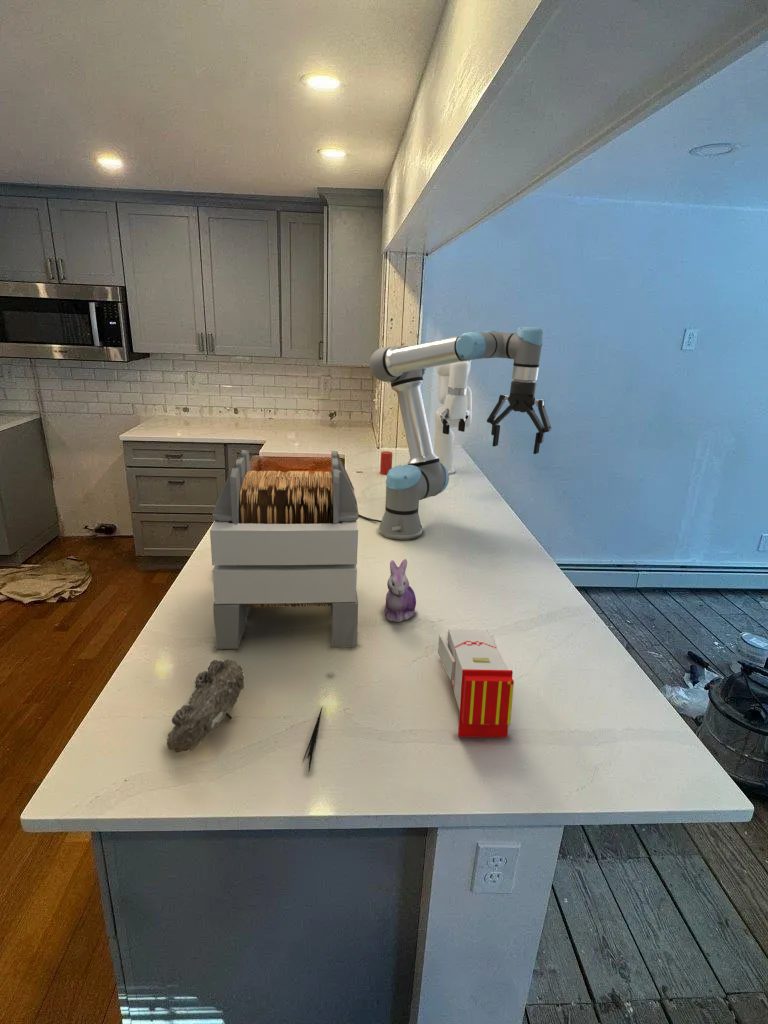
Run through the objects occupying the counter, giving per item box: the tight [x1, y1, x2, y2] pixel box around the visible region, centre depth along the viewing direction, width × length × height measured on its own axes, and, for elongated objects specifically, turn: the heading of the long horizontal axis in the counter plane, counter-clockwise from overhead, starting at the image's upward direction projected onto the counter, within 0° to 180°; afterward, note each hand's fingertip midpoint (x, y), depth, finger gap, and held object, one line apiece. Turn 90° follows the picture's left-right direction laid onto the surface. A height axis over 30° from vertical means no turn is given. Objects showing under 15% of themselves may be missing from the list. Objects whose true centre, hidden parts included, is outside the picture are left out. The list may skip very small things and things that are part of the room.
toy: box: [437, 628, 515, 738], centre depth 117 cm, size 12×13×30 cm
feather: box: [301, 673, 332, 771], centre depth 108 cm, size 2×28×2 cm
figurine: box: [384, 558, 417, 623], centre depth 145 cm, size 9×10×15 cm
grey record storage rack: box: [209, 449, 360, 651], centre depth 139 cm, size 34×33×41 cm
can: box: [379, 450, 393, 476], centre depth 271 cm, size 6×6×10 cm
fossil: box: [166, 658, 245, 754], centre depth 106 cm, size 22×10×15 cm
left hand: (515, 449), depth 178 cm, fingers open, 13 cm apart
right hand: (453, 432), depth 241 cm, fingers open, 9 cm apart
